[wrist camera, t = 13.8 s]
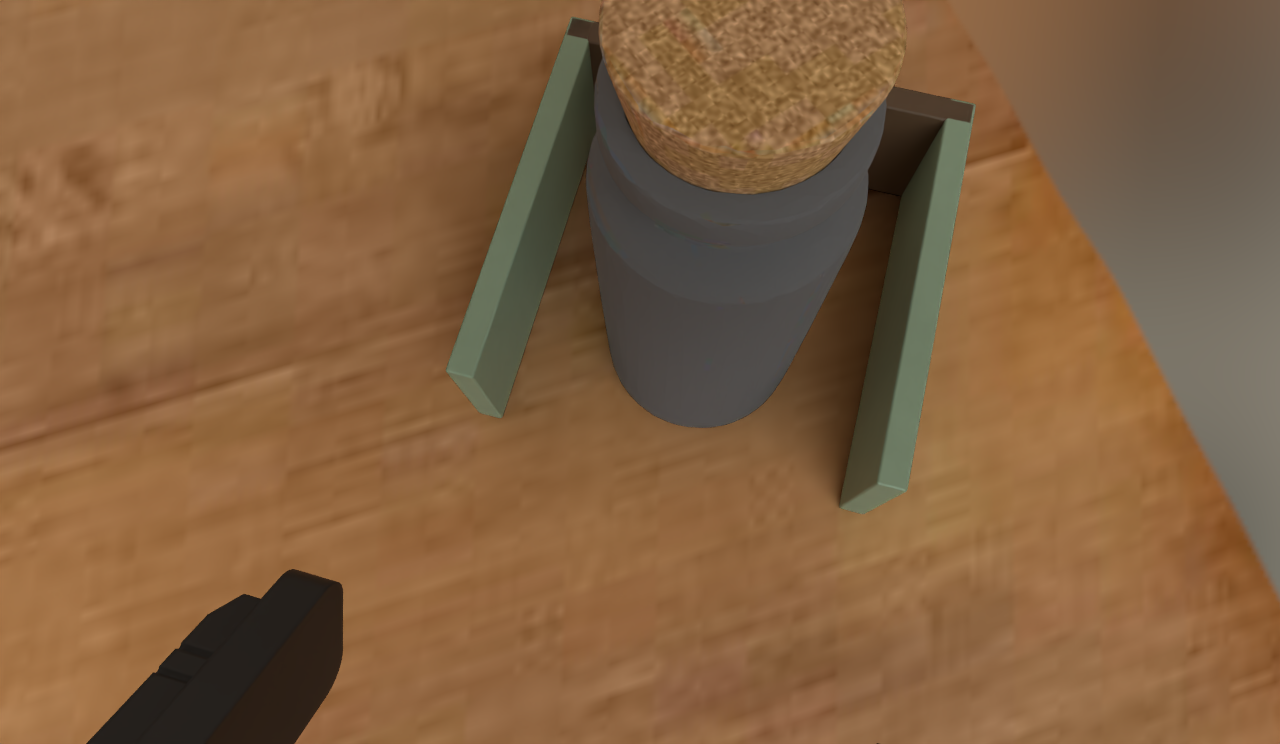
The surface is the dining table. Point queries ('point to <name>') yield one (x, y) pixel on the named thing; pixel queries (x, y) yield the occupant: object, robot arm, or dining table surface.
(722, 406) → the bottle
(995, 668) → the dining table surface
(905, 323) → the green u-shaped frame
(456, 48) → the dining table surface
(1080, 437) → the dining table surface
